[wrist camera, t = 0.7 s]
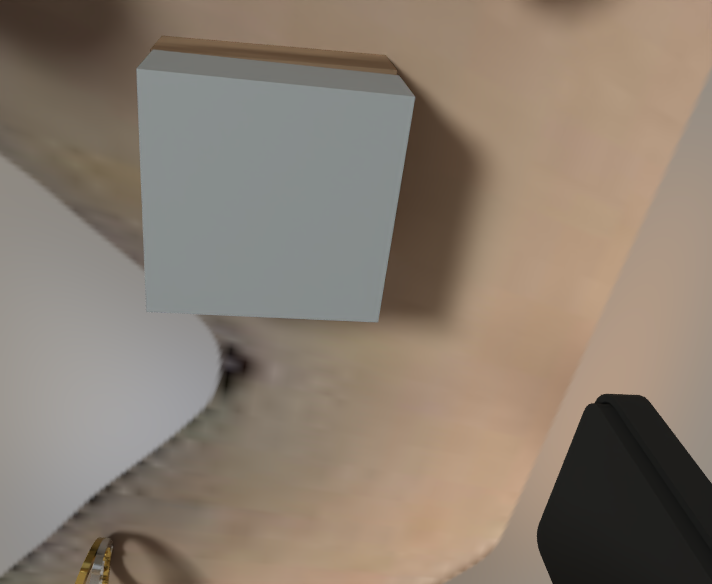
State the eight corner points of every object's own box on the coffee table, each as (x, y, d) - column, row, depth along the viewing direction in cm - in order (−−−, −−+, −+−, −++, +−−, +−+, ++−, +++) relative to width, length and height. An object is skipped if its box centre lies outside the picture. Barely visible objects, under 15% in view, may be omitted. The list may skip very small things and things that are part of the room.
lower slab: (163, 34, 32) (150, 49, 29) (384, 54, 34) (397, 70, 30) (171, 238, 37) (161, 271, 34) (361, 246, 39) (370, 279, 36)
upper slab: (152, 49, 29) (136, 68, 25) (399, 75, 30) (415, 96, 27) (159, 271, 34) (146, 311, 30) (367, 282, 36) (377, 322, 32)
